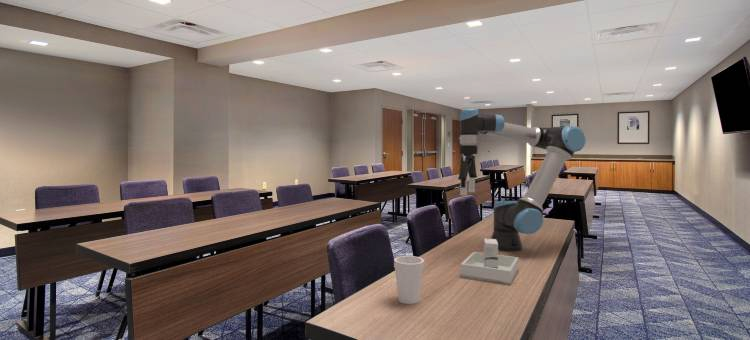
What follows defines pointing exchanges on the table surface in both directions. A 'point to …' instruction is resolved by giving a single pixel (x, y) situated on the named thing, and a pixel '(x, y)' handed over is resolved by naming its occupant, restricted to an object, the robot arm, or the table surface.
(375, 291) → the table surface
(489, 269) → the tray
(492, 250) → the ink box
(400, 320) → the table surface
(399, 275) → the foam cup
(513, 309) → the table surface
